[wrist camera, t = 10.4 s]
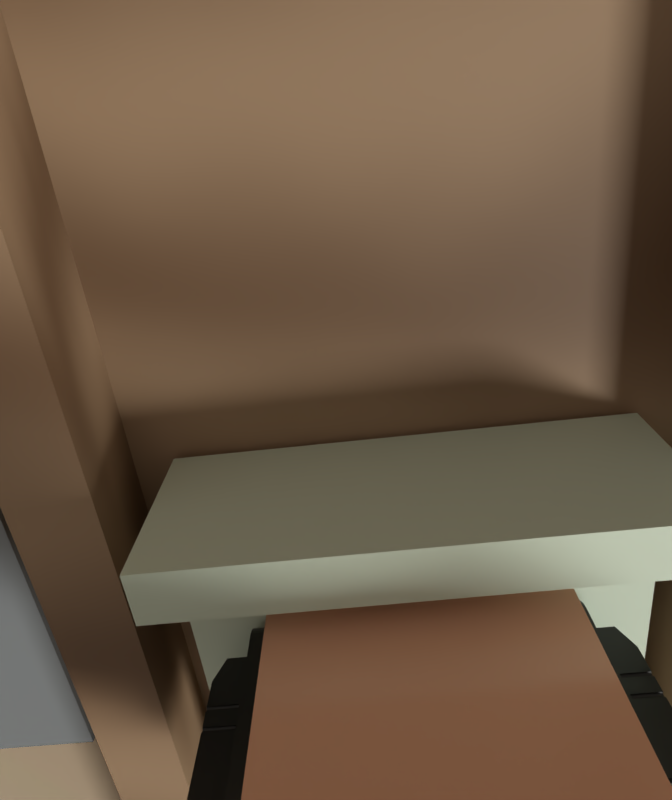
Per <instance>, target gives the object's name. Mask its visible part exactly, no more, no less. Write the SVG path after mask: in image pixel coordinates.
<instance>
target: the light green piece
mask: <svg viewBox="0 0 672 800" xmlns="http://www.w3.org/2000/svg"><path fill="white" fill-rule="evenodd" d="M120 579H121V582H122V585H123V588H124V591H125V594H126V597H127V600H128V603H129V606H130V609H131V612H132V615H133V618H134V621H135V624H136V626H144V625H156V624H167V623H179V622H190V623H191V627H192V631H193V634H194V638H195V641H196V645H197V648H198V652H199V655H200V659H201V662H202V666H203V669H204V673H205V676H206V680H207V683H208V687H209V690H210V689H211V684H212V681H213V679H214V678H215V676H216V675H217V673H218V672H219V670H220V669H221V667H222V666H223V664H224V663H225V661H226V659H227V658H239V657H247V653H248V647H249V640H250V635H251V631H252V629H253V628H264V627H265V621H266V615H272V614H283V613H295V612H307V611H318V610H330V609H341V608H353V607H365V606H376V605H388V604H400V603H411V602H423V601H434V600H446V599H458V598H469V597H481V596H493V595H504V594H516V593H527V592H539V591H551V590H562V589H574V590H575V592H576V594H577V596H578V598H579V600H580V601H582V602H583V603H584V605H585V606H586V608H587V610H588V612H589V614H590V616H591V618H592V620H593V622H594V624H595V626H596V628H601V627H613V626H615V627H616V628H617V629H618V630H619V631H621V632H622V633H623V634H624V635H625V636H626V637H627V638H628V639H630V640H631V641H632V642H633V643H634V644H635V645H636V646H637V647H638V648H639V650H640V652H641V653H642V655H643V657H644V659H645V652H646V645H647V638H648V630H649V623H650V615H651V608H652V600H653V593H654V586H655V581H667V580H672V448H671V447H670V446H669V445H668V444H667V443H666V442H665V441H664V440H663V439H662V438H661V437H660V436H659V435H658V434H657V433H656V432H655V431H654V430H653V429H652V428H651V427H650V426H649V425H648V424H647V423H646V421H645V420H644V419H643V418H642V417H641V416H640V415H639V414H638V413H629V414H619V415H609V416H599V417H589V418H578V419H568V420H558V421H548V422H538V423H528V424H518V425H508V426H498V427H488V428H478V429H468V430H457V431H447V432H437V433H427V434H417V435H407V436H397V437H387V438H377V439H367V440H357V441H347V442H336V443H326V444H316V445H306V446H296V447H286V448H276V449H266V450H256V451H246V452H236V453H226V454H215V455H205V456H195V457H185V458H175V459H173V462H172V464H171V466H170V468H169V470H168V472H167V475H166V477H165V479H164V481H163V483H162V485H161V487H160V490H159V492H158V494H157V496H156V498H155V500H154V503H153V505H152V507H151V509H150V511H149V513H148V515H147V518H146V520H145V522H144V524H143V526H142V528H141V531H140V533H139V535H138V537H137V539H136V541H135V543H134V546H133V548H132V550H131V552H130V554H129V556H128V559H127V561H126V563H125V565H124V567H123V569H122V571H121V574H120Z"/></svg>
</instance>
